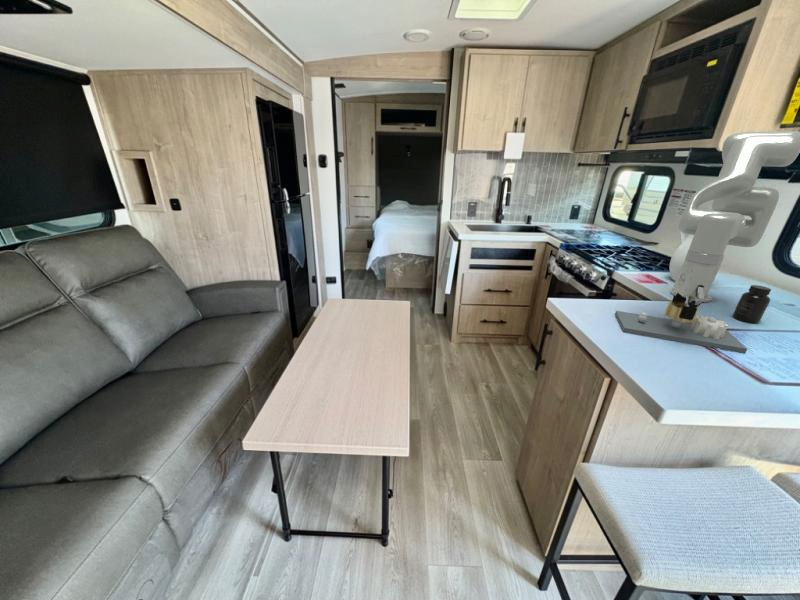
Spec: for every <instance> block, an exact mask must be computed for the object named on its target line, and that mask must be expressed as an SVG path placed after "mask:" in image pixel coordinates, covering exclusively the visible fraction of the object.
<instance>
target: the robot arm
mask: <svg viewBox="0 0 800 600" xmlns="http://www.w3.org/2000/svg"><path fill="white" fill-rule="evenodd" d="M799 154H800V131H798V130H797V131H796V130H795V131H793V130H792V131H790V130H788V131H787V130H786V131H781V130H780V131H779V130H778V131H748V132H747V131H746V132H745V131H744V132H739V133H738V132H737V133H734V134H731V135H728V136H727V137H726V138H725V140H724V142H723V143H722V147H721V159H722V163H723V165H722V167H721V169H720V171H719V175H718V176H717V179H716V180H715V181H713V182H710V183H709V184H707V185H705V186H703V187H702V188H700V189H699V190H698V191H696V192H695V193H694V194H693V195H692V196H691V198H689V201H687V203H686V206H685V209H684V210H683V213H682V215H681V217H680V221H679V223H678V229H679V232H680V231H681V232H682V233H685V234H686V235H690V234H691V235H694V237H693V239H692V242H691V245H690V247H689V250H688V252H687V255H686V258H685V260H684V261H685V262H684V264H683V265H682V267H681V269H680V271H679V274H678V276H677V278H676V280H675V281H674V284H673V288H672V289H671V292H670V293H671V295H673V297H672V300H671V301H673V302H675V301H676V302H677V301H680V302H683V303H686V305H685V306H683V308H682V311H681V313H680V315H679V318H681V319H687V320H693V318H694V315H695V313H696V310H697V309H698V308H699V309H700V306H701V304H702V303H709V302H711V301H712V299H713V297H712V296H711V295H709V293H710V290H711V288H712V285H713V283H714V281H715V279H716V276H717V274H718V272H719V271H718V270H720V269H719V267H720V265H721V266H722V264H721V263H723V261H724V257H725V256H724V253H725V251H726V248H727V246H734V247H742V248H752V247H755V246H756V245H758V244H759V243H760V241H761V239H762V237H763V236H764V234H765V231H766V229H767V227H768V224H769V222H770V221H771V218H772V216H773V214H774V211H775V209H776V208H777V205H778V201H779V198H780V193H779V190H777V189H776V188H773V187H765V186H764V187H763V186H762V187H761V186H755V185H756V182H757V180H758V178H759V174H760V173H761V170H762V167H778V168H779V167H780V168H782V167H783V168H784V167H787V166H790V165H791V164H793V163H794V161H796V159H797V157H798V156H799ZM712 200H713V201H712ZM709 201H712V204H711V208H712V209H711V210H710V209H700V208H699V207H700V206H701V205H703V204H705V203H707V202H709ZM698 208H699V209H698ZM744 216H748V217H749V218H751V219H748V218H747V219H745V217H744ZM720 268H721V267H720Z"/></svg>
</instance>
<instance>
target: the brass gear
mask: <svg viewBox="0 0 800 600" xmlns="http://www.w3.org/2000/svg"><path fill="white" fill-rule="evenodd" d="M685 305H686V302H685V303H683V302H680V301H677V302H676V301H675V302H673V301H672V300H669V301H668V303H667V305H666V307H665V311H664V313H663V315H664V317H668V319H672V320H677V321H681V322H684V323H685V322H691V323H693V322H694V320H695V318H696V317H697V314H698V313H699V310H700V307H699V308H698V309H697V310H696V313H695V315H694V318H693V320H687V319H681V318H679V315H680V313H681V311H682V308H683V306H685Z"/></svg>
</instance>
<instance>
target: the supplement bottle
mask: <svg viewBox="0 0 800 600" xmlns="http://www.w3.org/2000/svg"><path fill="white" fill-rule="evenodd" d="M771 291H772V289H771V288H770V287H767V286H762V285H759V284H758V285H757V284H752V285H750V286H749V289H748V291H746V292H744V293H743V294H741V297H740V298H739V300H738V303H737V305H736V307H735V309H734V311H733V313H732V317H733V318H734V319H736V320H737V321H740V322H744V323H747V324H758V323H760V322H761V320H762V319H763V316H764V314H765V312H766V310H767V309H768V307H769V304H770V303H771V298H770V297H769V295H770V294H771Z"/></svg>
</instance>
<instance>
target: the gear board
mask: <svg viewBox="0 0 800 600" xmlns="http://www.w3.org/2000/svg"><path fill="white" fill-rule="evenodd" d="M615 315H616V316H615ZM614 316H615V319H616V320H617V322H618V325H619V327H620V328H621V331H622V333H627V334H630V335H631V334H632V335H638V336H644V337H650V338H654V339H655V338H656V339H659V340H667V341H671V342H672V341H673V342H677V343H683V344H689V345H696V346H699V347H700V346H701V347H705V346H708V348H711V347H714V348H713V349H717V348H720V349H719V350H723V349H726V350H725V351H728V350H731V351H730V352H734V351H735V352H736V353H740V354H746V353H747V350H748V348H747V347H746V346H745V345H744V344H743V343H742V342H741V341H739V340H738V339H737V338H736V337H735V336H734V335H733V334H732V333H731V332H729V331H728V330H727V329H728V327H729V325H728V324H727V323H726V322H725V321H724V320H718V319H715V317H712V316H710V317H709V316H704V315H699V316H698V317H697V316H696V318H695V320H694V322H693V323H691V322H685V323H684V322H681V321H677V320H672V319H670V318H665V317H659V316H653V315H648V313H647V312H645V311H644V312H643V311H642V312H641V313H635V312H628V311H620V310H615V313H614Z"/></svg>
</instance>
